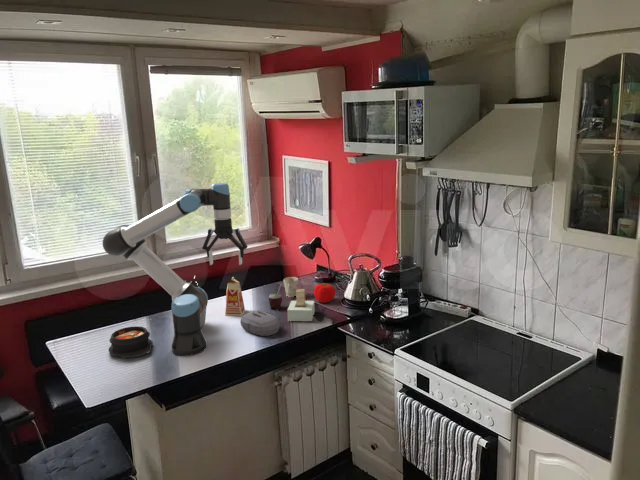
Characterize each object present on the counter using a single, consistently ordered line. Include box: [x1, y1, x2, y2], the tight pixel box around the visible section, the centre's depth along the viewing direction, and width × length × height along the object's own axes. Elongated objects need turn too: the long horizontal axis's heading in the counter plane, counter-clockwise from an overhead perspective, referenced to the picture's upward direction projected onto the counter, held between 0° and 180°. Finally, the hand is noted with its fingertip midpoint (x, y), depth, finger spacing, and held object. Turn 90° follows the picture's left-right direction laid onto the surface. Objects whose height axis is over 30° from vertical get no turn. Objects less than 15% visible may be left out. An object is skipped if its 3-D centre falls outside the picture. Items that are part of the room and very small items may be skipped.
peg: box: [295, 288, 306, 307], centre depth 262 cm, size 4×4×14 cm
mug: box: [283, 276, 299, 298], centre depth 292 cm, size 8×13×10 cm, turn 174°
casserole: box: [108, 325, 154, 359], centre depth 228 cm, size 25×19×8 cm
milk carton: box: [224, 276, 246, 317], centre depth 269 cm, size 9×9×20 cm
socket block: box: [286, 300, 316, 322], centre depth 262 cm, size 14×12×6 cm
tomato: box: [313, 282, 336, 303], centre depth 283 cm, size 12×12×10 cm
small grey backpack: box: [239, 310, 281, 337], centre depth 247 cm, size 15×8×20 cm
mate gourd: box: [268, 281, 284, 310], centre depth 275 cm, size 8×8×15 cm
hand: (226, 264), depth 234 cm, fingers open, 13 cm apart
